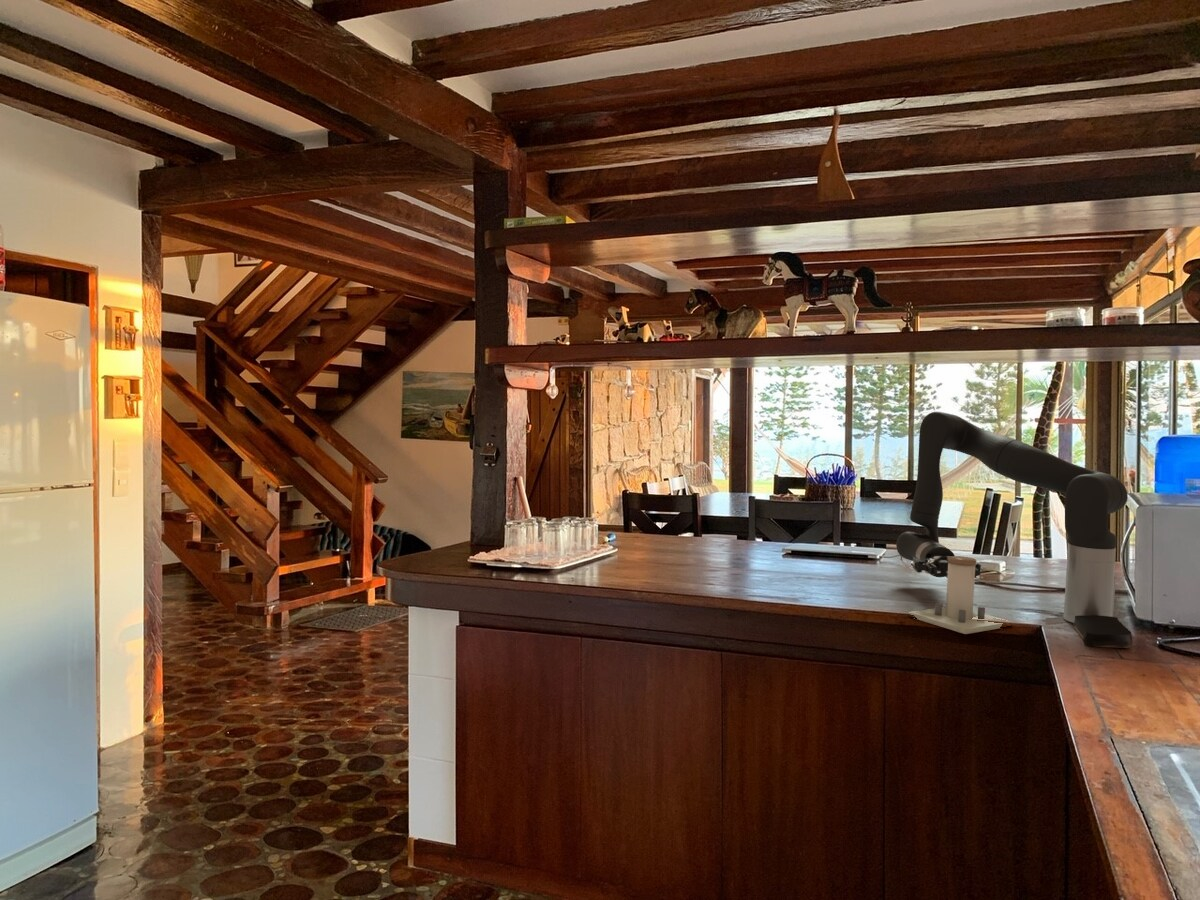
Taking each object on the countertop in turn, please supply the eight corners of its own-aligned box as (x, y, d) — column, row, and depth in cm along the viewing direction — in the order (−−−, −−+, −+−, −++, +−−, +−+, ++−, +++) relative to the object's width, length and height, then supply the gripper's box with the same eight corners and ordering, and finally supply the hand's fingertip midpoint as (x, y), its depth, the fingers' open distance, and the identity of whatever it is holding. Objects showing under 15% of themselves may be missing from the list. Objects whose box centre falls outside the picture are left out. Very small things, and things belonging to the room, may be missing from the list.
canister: (956, 612, 187) (959, 555, 186) (979, 618, 182) (982, 560, 181) (939, 614, 184) (941, 557, 183) (961, 621, 179) (964, 562, 178)
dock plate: (953, 609, 193) (954, 595, 193) (1011, 626, 180) (1012, 610, 180) (908, 616, 186) (908, 601, 186) (965, 634, 173) (965, 617, 173)
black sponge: (1134, 654, 163) (1135, 635, 162) (1085, 648, 166) (1086, 630, 165) (1115, 632, 178) (1116, 615, 178) (1070, 627, 181) (1071, 611, 181)
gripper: (905, 542, 204) (923, 554, 187) (966, 544, 202) (989, 557, 186) (904, 572, 204) (921, 587, 188) (964, 575, 202) (987, 590, 186)
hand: (955, 572), depth 187 cm, fingers open, 8 cm apart
